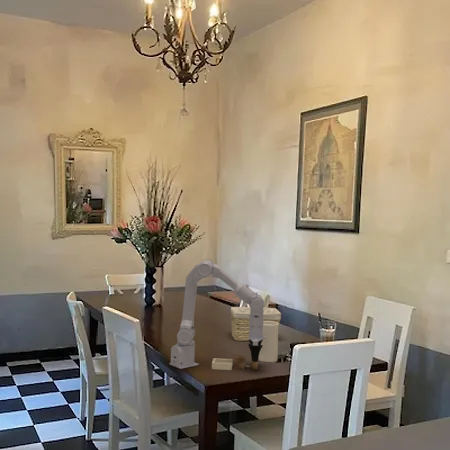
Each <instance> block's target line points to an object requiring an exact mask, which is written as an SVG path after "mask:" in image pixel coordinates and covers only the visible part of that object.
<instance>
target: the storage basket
mask: <svg viewBox="0 0 450 450" xmlns="http://www.w3.org/2000/svg"><path fill="white" fill-rule="evenodd" d="M263 310H264V313H263V315H264V320H263V321H274V322H278V323H279V326H278V332H279V331H280V330H279V329H280V322H281V319H282V312H280V311H279V310H278V309H277V308H276V307H265V306H264V308H263ZM230 314H231V315H230V316H231V336H232V338H233V339H234V340H235V341H237V342H238V341H239V342H241V341H242V342H243V341H244V342H245V341H247V342H250V341H249V338H248V336H249V318H250V306H231V307H230Z"/></svg>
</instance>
